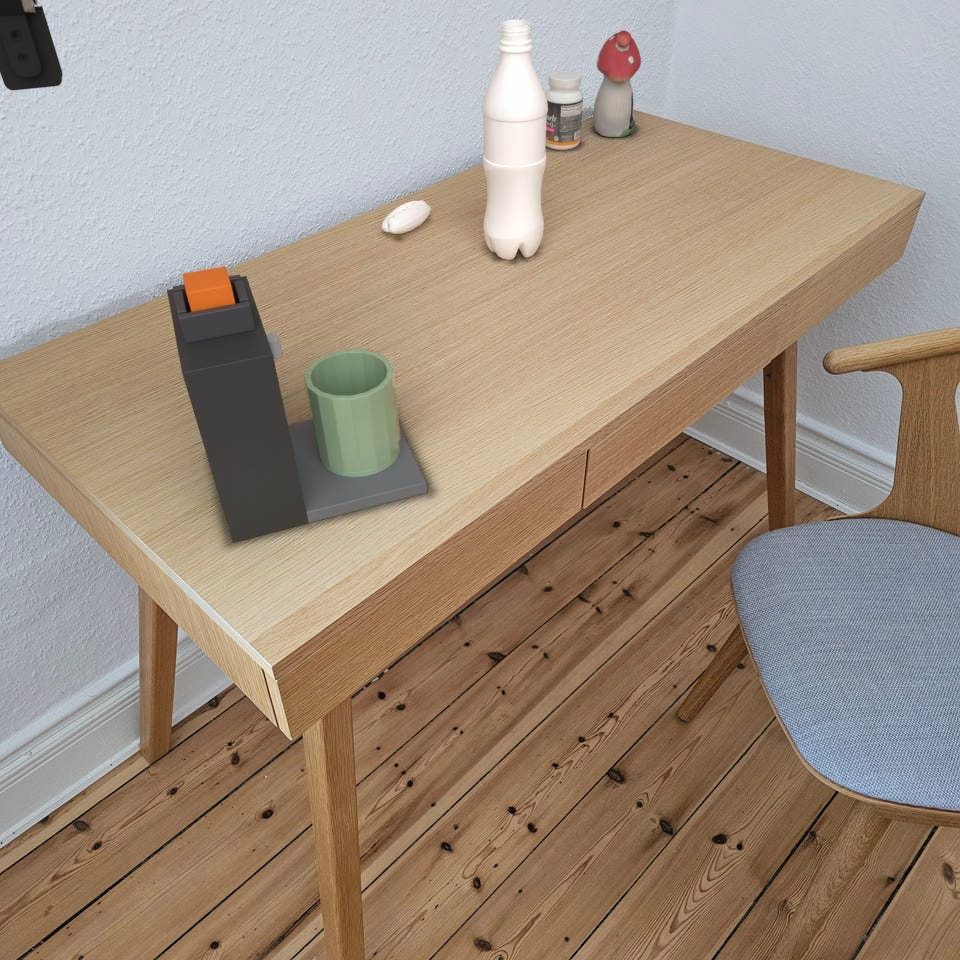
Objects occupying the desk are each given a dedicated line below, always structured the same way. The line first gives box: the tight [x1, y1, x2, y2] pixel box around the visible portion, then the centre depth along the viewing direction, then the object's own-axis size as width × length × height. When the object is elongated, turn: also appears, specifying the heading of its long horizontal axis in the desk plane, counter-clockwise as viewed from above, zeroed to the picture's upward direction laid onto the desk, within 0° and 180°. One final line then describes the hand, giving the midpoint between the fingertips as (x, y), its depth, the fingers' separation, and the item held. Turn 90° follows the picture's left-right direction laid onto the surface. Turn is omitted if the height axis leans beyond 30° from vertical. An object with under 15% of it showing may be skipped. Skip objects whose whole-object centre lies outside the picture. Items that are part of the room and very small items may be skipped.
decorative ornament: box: [592, 29, 642, 138], centre depth 128 cm, size 9×7×15 cm
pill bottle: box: [545, 69, 584, 151], centre depth 126 cm, size 6×6×10 cm
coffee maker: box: [166, 273, 428, 544], centre depth 67 cm, size 16×12×18 cm
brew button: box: [181, 266, 236, 312], centre depth 59 cm, size 3×3×2 cm
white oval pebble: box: [381, 199, 432, 235], centre depth 107 cm, size 3×8×3 cm, turn 145°
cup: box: [303, 348, 401, 477], centre depth 70 cm, size 7×7×8 cm
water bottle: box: [481, 19, 548, 261], centre depth 95 cm, size 7×7×25 cm
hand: (35, 83), depth 52 cm, fingers closed
